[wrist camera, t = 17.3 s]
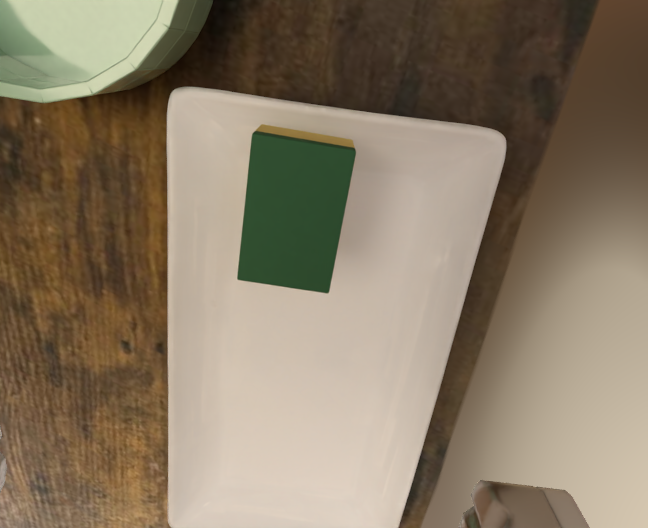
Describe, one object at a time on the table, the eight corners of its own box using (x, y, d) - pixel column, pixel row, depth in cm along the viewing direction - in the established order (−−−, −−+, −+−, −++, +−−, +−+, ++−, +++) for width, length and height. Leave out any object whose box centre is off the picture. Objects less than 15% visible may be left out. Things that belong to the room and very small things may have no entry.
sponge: (260, 123, 23) (251, 133, 20) (353, 139, 23) (356, 150, 20) (246, 256, 25) (236, 280, 23) (328, 268, 26) (328, 294, 23)
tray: (177, 497, 38) (163, 538, 34) (183, 78, 25) (163, 81, 22) (385, 518, 39) (391, 560, 35) (493, 122, 26) (516, 131, 23)
